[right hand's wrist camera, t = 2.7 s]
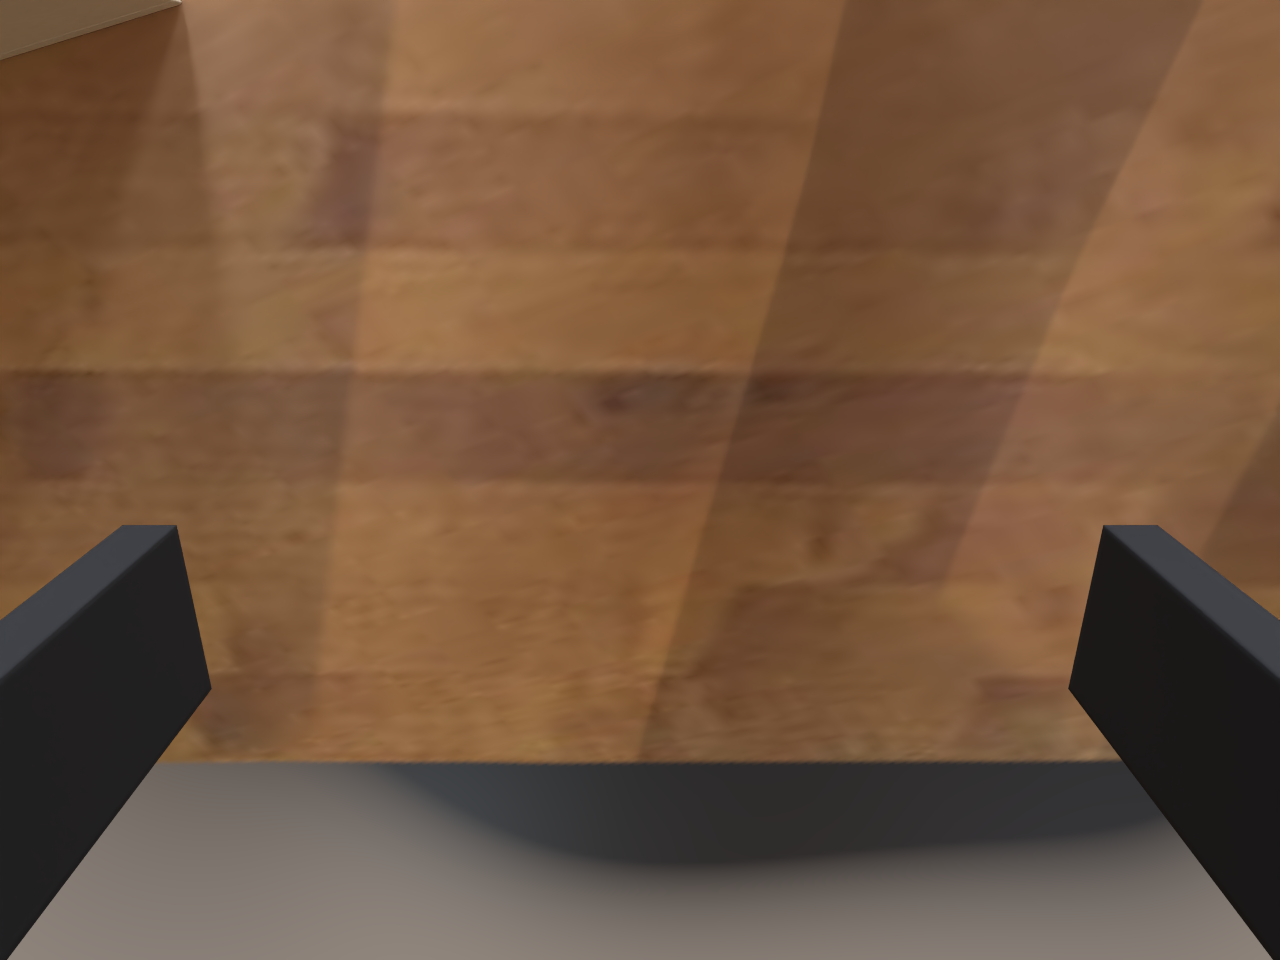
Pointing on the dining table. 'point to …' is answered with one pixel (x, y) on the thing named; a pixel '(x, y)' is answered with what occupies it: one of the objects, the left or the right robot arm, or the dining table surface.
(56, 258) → the dining table surface
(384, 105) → the dining table surface
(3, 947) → the right robot arm
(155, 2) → the chest
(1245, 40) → the dining table surface
